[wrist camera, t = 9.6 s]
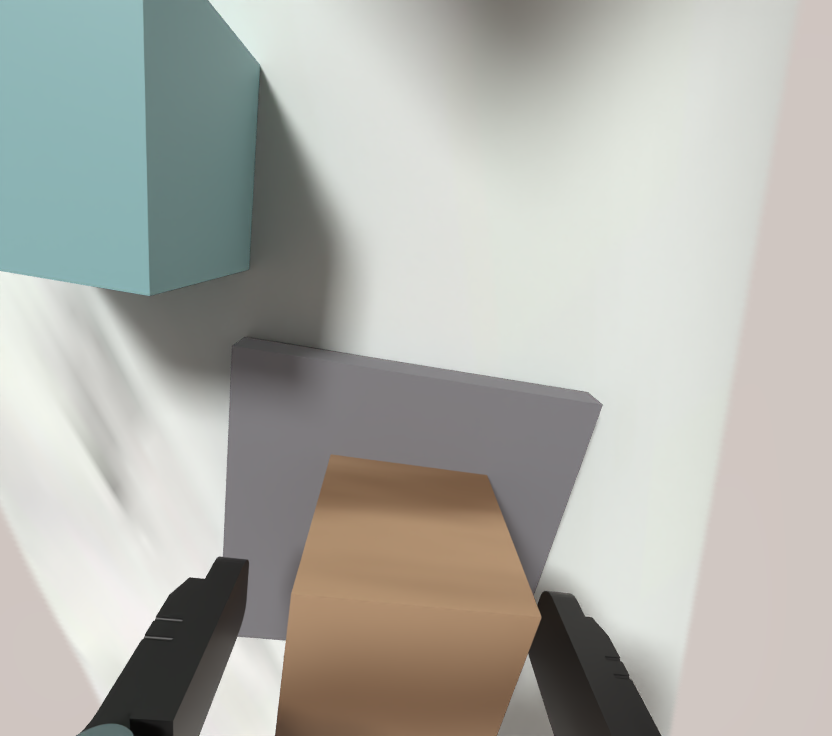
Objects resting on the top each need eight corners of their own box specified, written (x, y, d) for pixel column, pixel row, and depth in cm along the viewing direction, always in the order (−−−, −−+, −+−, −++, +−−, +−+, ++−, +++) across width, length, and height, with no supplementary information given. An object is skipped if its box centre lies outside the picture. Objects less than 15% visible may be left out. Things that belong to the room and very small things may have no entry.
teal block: (44, 15, 9) (-313, -204, 5) (261, 66, 10) (140, -83, 5) (62, 235, 11) (-190, 239, 6) (250, 269, 11) (149, 295, 7)
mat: (245, 337, 12) (232, 345, 11) (587, 392, 13) (602, 404, 12) (230, 610, 15) (219, 634, 14) (503, 634, 17) (510, 658, 16)
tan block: (330, 454, 12) (291, 594, 8) (487, 475, 13) (541, 617, 8) (314, 579, 14) (272, 760, 9) (454, 592, 14) (483, 770, 10)
